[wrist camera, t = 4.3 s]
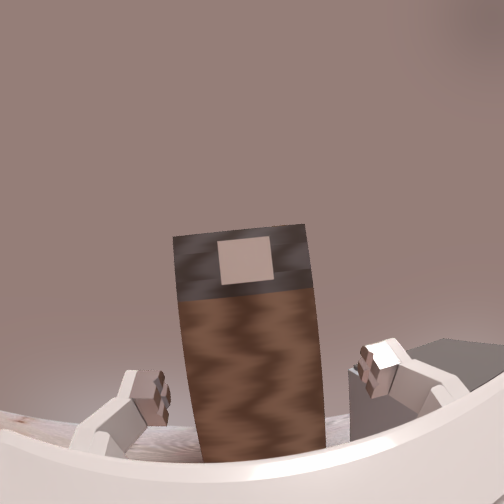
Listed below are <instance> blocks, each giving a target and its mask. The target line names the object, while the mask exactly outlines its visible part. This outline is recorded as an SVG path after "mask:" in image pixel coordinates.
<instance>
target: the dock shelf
mask: <svg viewBox="0 0 504 504" xmlns="http://www.w3.org/2000/svg"><path fill="white" fill-rule="evenodd" d="M406 353H407V354H408V355H409V356H410V358H411V359H412V360H413V359H416V360H418V361H421V362H423V363H426V364H428V365H431V366H433V367H436V368H438V369H440V370H443V371H445V372H448V373H450V374H453V375H456V376H457V377H458V378H459V379H460V381H461V382H462V383H463V384H464V385H465V387H466V388H467V389H468V390H469V392H472V391H474V390H476V389H477V388H479V387H481V386H482V385H484V384H486V383H487V382H489V381H490V380H492V379H494V378H495V377H497V376H498V375H500V374H501V373H503V372H504V345H497V344H486V343H477V342H467V341H459V340H451V339H444V338H443V339H440V340H438V341H434V342H432V343H429V344H426V345H423V346H420V347H417V348H414V349H410V350H407V351H406ZM357 366H358V364H356V365H354V368H352V369H348V375H349V376H348V377H349V400H350V442H352V441H355V440H359V439H362V438H365V437H368V436H371V435H374V434H377V433H380V432H383V431H386V430H389V429H392V428H395V427H397V426H400V425H402V424H405V423H407V422H410V421H412V420H415V419H416V418H417V416H418V414H417V413H416V412H414V411H413V410H411V409H409V408H408V407H406V406H405V405H403V404H402V403H400V402H399V401H397V400H395V399H394V398H392V397H391V396H389V394H387V395H384V396H380V397H377V398H373V399H371V398H370V396H369V394H368V392H367V390H366V389H365V388H366V383H364V382H362V381H361V379H360V377H359V374H358V367H357Z"/></svg>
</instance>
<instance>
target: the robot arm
mask: <svg viewBox="0 0 504 504" xmlns="http://www.w3.org/2000/svg"><path fill="white" fill-rule="evenodd" d="M360 354H361V356H362V357H361V358H360V360H359V361H358V366H357V367H358V374H359V377H360V379H361V381H362V382H364V383H366V388H365V389H366V390H367V392H368V394H369V396H370V398H371V399H373V398H377V397H380V396H384V395H387V394H389V396H391V397H392V398H394V399H395V400H397V401H399V402H400V403H402V404H403V405H405V406H406V407H408V408H409V409H411V410H413V411H414V412H416V413H417V414H418V416H417V418H416V419H415V420H412V421H410V422H407V423H405V424H402V425H400V426H397V427H395V428H392V429H389V430H386V431H383V432H380V433H377V434H374V435H371V436H368V437H365V438H362V439H359V440H355V441H352V442H348V443H344V444H341V445H337V446H333V447H329V448H324V449H320V450H315V451H311V452H306V453H300V454H295V455H289V456H283V457H276V458H269V459H260V460H251V461H240V462H225V463H165V462H150V461H139V460H130V459H129V458H128V457H127V456H126V455H125V453H126V452H127V451H128V450H129V448H130V447H131V446H132V445H133V444H134V443H135V441H136V440H137V439H138V438H139V437H140V436H141V434H142V433H143V432H144V431H145V430H146V429H147V426H167V423H168V416H169V413H168V411H167V408H168V407H169V406H170V402H171V399H170V398H171V396H170V390H169V387H168V384H166V383H165V382H164V379H165V376H164V374H163V372H162V371H149V370H146V371H145V370H144V371H143V370H138V371H137V370H136V371H135V370H128V371H126V372H125V375H124V377H123V380H122V383H121V386H120V389H119V392H118V395H117V398H112V399H111V400H110V401H109V402H107V403H106V404H105V405H104V406H102V407H101V408H100V409H98V411H96V412H95V413H93V414H92V415H91V416H90V417H88V418H87V419H86V420H85V421H83V422H82V423H81V424H79V425H78V426H77V427H76V430H75V432H74V435H73V438H72V440H71V443H70V446H69V448H65V447H61V446H57V445H54V444H50V443H47V442H43V441H40V440H37V439H34V438H31V437H28V436H25V435H22V434H20V433H17V432H14V431H12V430H9V429H1V430H0V504H504V372H503V373H501V374H500V375H498V376H497V377H495V378H494V379H492V380H490V381H489V382H487V383H486V384H484V385H482V386H481V387H479V388H477V389H476V390H474V391H472V392H469V390H468V389H467V388H466V387H465V385H464V384H463V383H462V382H461V381H460V379H459V378H458V377H457V376H456V375H453V374H450V373H448V372H445V371H443V370H440V369H438V368H436V367H433V366H431V365H428V364H426V363H423V362H421V361H418V360H416V359H413V360H412V359H411V358H410V356H409V355H408V354H407V353H406V351H405V350H404V349H403V348H402V346H401V345H400V344H399V343H398V341H397V340H396V339H395V338H391V339H387V340H383V341H380V342H376V343H372V344H368V345H364V346H362V348H361V351H360Z"/></svg>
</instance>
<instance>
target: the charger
mask: <svg viewBox="0 0 504 504" xmlns="http://www.w3.org/2000/svg"><path fill="white" fill-rule="evenodd" d="M217 243H218V254H219V264H220V273H221V283H222V285H226V284H236V283H246V282H255V281H264V280H273V279H274V274H273V265H272V256H271V247H270V238H269V236H266V237H256V238H246V239H236V240H226V241H217Z"/></svg>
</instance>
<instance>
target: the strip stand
mask: <svg viewBox="0 0 504 504" xmlns="http://www.w3.org/2000/svg"><path fill="white" fill-rule="evenodd" d="M266 236H269V238H270V247H271V256H272V265H273V274H274V279H273V280H264V281H255V282H246V283H236V284H226V285H222V283H221V273H220V264H219V254H218V243H217V241H226V240H236V239H246V238H256V237H266ZM173 249H174V263H175V276H176V289H177V300H178V309H179V319H180V327H181V335H182V344H183V351H184V358H185V366H186V372H187V379H188V385H189V391H190V397H191V403H192V408H193V414H194V419H195V424H196V429H197V434H198V439H199V444H200V448H201V453H202V457H203V462H204V463H225V462H240V461H251V460H260V459H269V458H276V457H283V456H289V455H295V454H300V453H306V452H311V451H315V450H320V449H324V448H326V436H325V413H324V397H323V381H322V367H321V355H320V344H319V334H318V324H317V314H316V305H315V297H314V288H313V280H312V272H311V265H310V258H309V250H308V244H307V237H306V230H305V224H296V225H282V226H272V227H264V228H253V229H243V230H232V231H222V232H214V233H204V234H194V235H185V236H176V237H173Z"/></svg>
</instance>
